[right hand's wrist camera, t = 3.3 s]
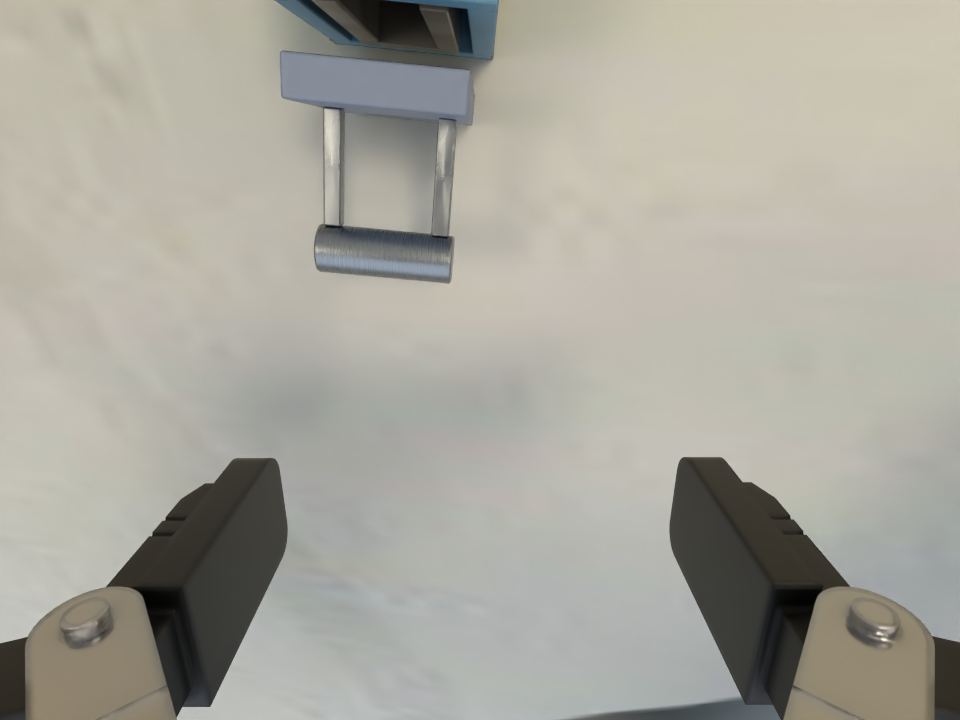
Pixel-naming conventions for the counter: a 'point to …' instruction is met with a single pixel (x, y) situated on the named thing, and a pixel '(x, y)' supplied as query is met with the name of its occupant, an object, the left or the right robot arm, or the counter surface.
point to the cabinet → (475, 3)
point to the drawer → (385, 94)
